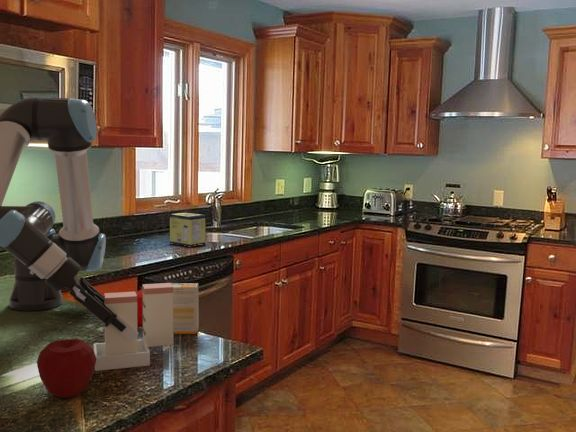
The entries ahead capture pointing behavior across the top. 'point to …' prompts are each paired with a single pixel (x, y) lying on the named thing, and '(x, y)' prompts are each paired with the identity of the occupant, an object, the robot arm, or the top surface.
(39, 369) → the apple
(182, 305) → the supplement box
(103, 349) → the tray
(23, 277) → the robot arm
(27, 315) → the top surface
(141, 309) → the tomato
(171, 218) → the protein box
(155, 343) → the block
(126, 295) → the stub
